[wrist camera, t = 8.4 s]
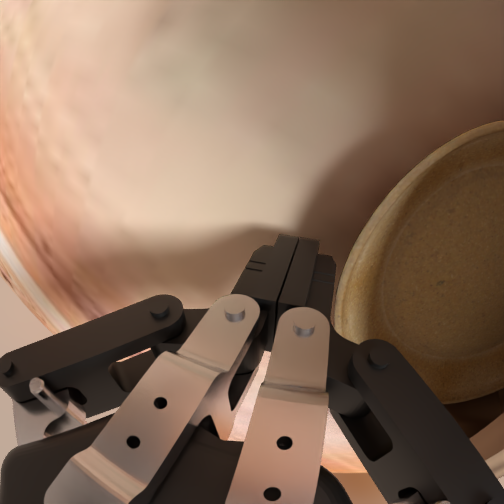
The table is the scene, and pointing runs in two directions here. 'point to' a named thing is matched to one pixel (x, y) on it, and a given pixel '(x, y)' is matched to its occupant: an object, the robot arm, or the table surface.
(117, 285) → the table surface
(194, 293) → the table surface
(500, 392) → the walnut shelf
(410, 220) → the plant saucer
